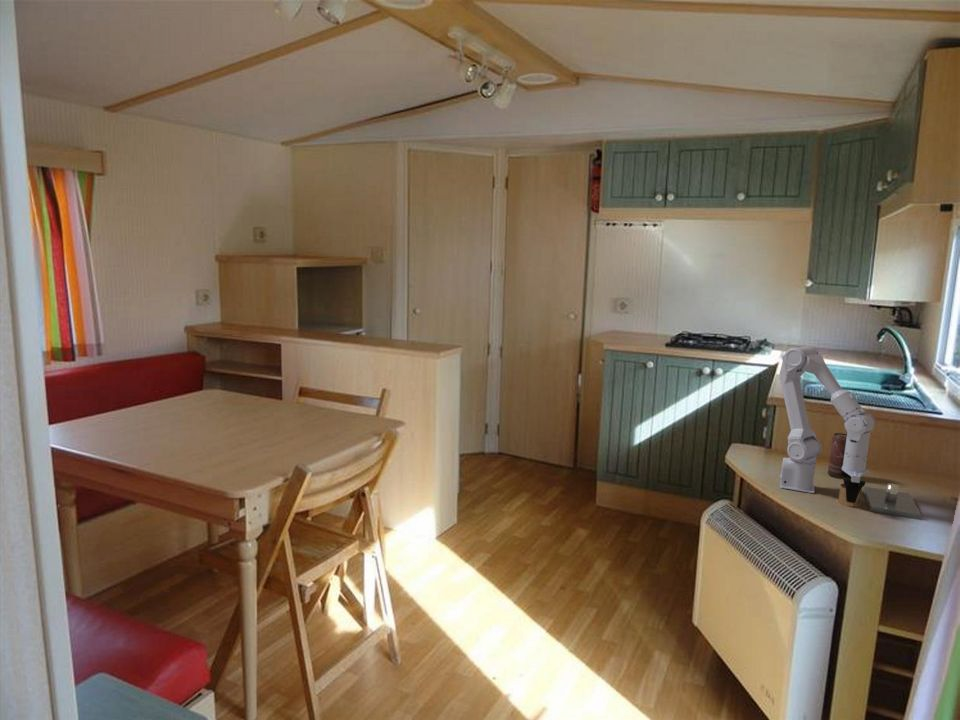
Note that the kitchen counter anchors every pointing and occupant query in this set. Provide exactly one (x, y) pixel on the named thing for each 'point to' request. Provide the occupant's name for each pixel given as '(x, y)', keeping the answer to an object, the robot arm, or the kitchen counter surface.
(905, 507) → the piston jig
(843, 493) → the tan cup
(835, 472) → the can
